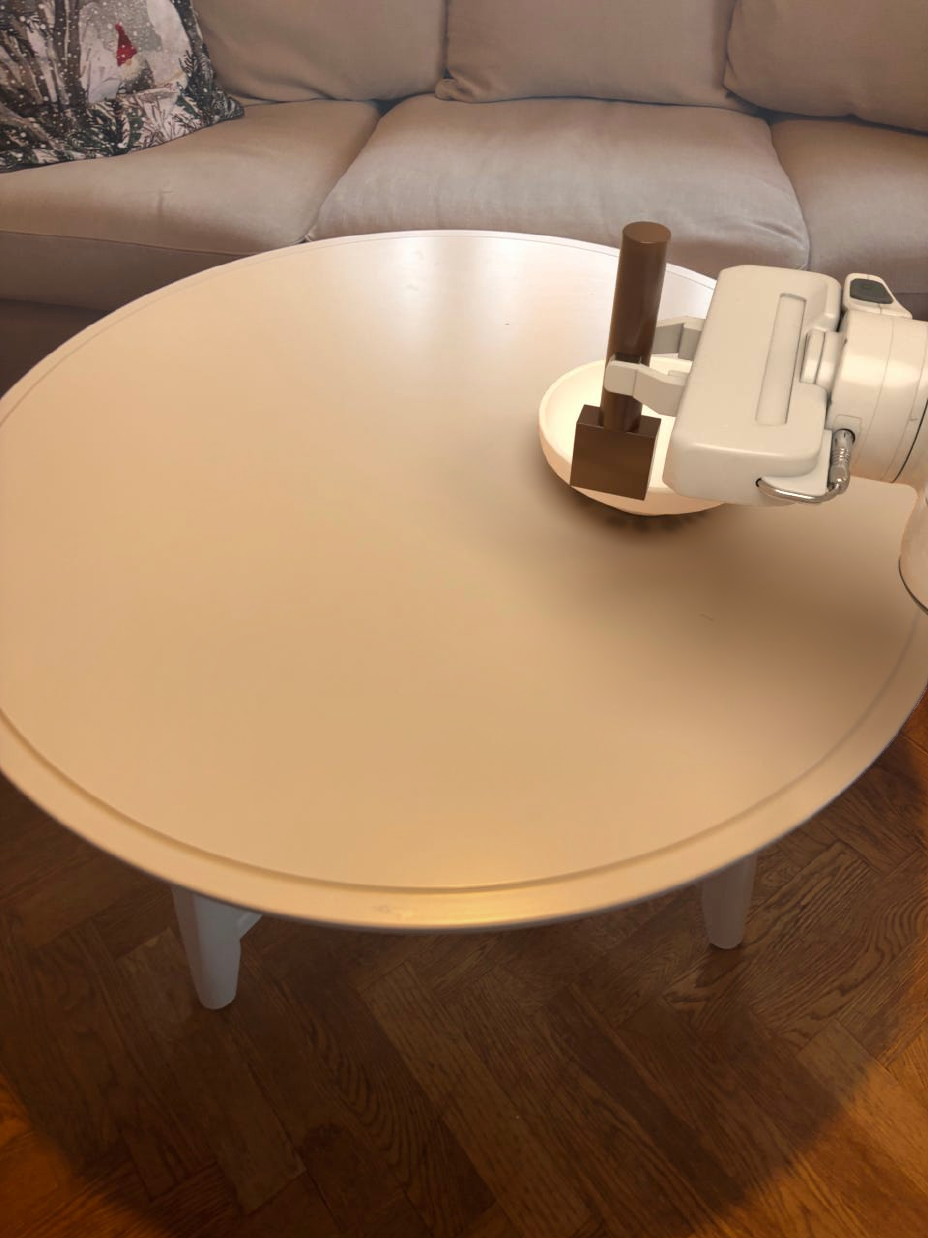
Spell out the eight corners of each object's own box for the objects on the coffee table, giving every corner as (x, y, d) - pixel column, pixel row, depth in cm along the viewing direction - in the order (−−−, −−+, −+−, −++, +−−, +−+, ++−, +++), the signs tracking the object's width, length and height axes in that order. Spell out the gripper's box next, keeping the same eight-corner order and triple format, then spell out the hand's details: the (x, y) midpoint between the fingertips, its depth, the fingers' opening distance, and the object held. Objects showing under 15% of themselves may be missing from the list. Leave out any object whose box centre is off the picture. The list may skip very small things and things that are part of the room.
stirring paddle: (651, 479, 64) (697, 227, 52) (643, 503, 63) (689, 248, 50) (577, 464, 65) (606, 214, 53) (568, 487, 64) (595, 234, 51)
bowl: (585, 399, 96) (593, 334, 91) (780, 458, 90) (800, 392, 84) (495, 512, 84) (498, 444, 79) (712, 589, 78) (731, 521, 73)
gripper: (829, 556, 50) (567, 501, 53) (848, 354, 63) (639, 319, 66) (867, 456, 45) (578, 402, 48) (879, 261, 59) (652, 228, 62)
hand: (614, 352), depth 57 cm, fingers closed on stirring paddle, 2 cm apart
